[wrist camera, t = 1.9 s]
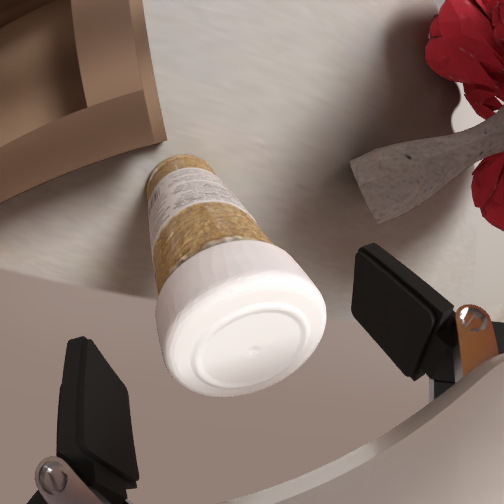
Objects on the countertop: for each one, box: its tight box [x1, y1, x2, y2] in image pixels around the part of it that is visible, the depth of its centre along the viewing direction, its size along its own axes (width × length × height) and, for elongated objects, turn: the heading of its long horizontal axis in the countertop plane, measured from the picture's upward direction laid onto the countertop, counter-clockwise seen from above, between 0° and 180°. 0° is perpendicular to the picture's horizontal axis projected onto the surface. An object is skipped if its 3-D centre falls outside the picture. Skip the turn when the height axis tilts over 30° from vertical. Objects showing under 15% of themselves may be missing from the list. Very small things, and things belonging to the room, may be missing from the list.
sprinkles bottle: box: [146, 154, 326, 397], centre depth 13 cm, size 5×5×14 cm
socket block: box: [0, 0, 167, 204], centre depth 9 cm, size 14×14×5 cm
